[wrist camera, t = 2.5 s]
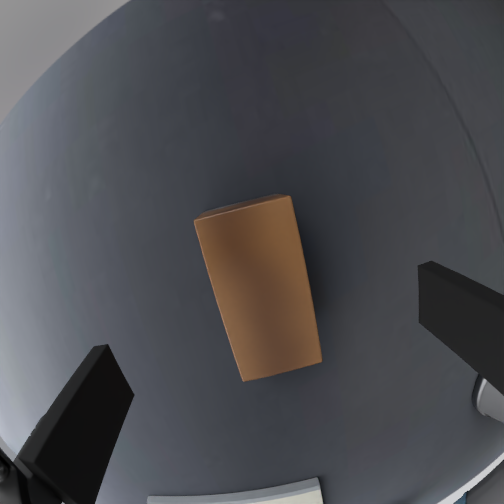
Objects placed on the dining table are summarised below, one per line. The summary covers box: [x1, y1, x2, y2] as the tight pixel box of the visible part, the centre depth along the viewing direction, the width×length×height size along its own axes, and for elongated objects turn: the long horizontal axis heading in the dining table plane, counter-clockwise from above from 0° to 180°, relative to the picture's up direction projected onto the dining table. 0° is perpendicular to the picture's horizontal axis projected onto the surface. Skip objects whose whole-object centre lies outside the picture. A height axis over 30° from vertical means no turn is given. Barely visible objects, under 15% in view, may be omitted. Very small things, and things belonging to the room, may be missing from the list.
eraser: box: [194, 193, 323, 382], centre depth 18 cm, size 5×10×5 cm, turn 14°
